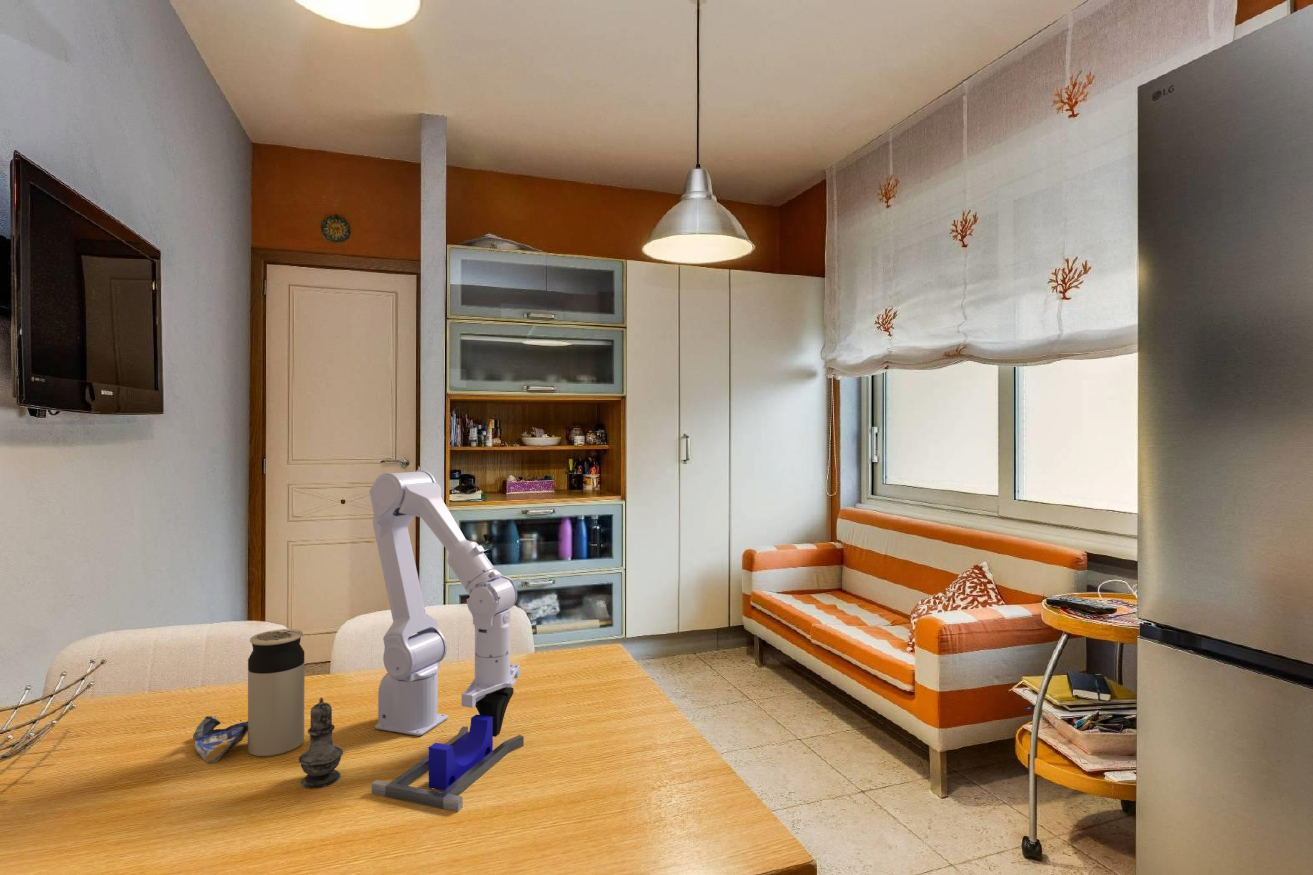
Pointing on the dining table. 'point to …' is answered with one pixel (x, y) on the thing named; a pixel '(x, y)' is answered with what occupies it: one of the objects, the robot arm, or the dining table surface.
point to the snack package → (217, 736)
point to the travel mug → (275, 692)
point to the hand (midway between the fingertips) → (492, 734)
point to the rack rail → (451, 794)
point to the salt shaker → (321, 750)
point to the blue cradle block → (460, 753)
